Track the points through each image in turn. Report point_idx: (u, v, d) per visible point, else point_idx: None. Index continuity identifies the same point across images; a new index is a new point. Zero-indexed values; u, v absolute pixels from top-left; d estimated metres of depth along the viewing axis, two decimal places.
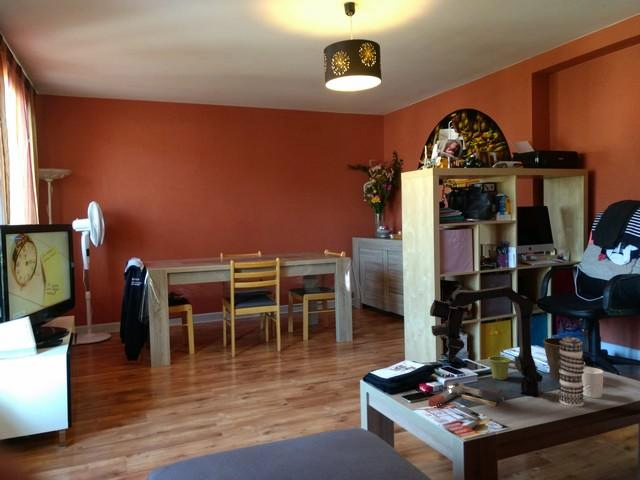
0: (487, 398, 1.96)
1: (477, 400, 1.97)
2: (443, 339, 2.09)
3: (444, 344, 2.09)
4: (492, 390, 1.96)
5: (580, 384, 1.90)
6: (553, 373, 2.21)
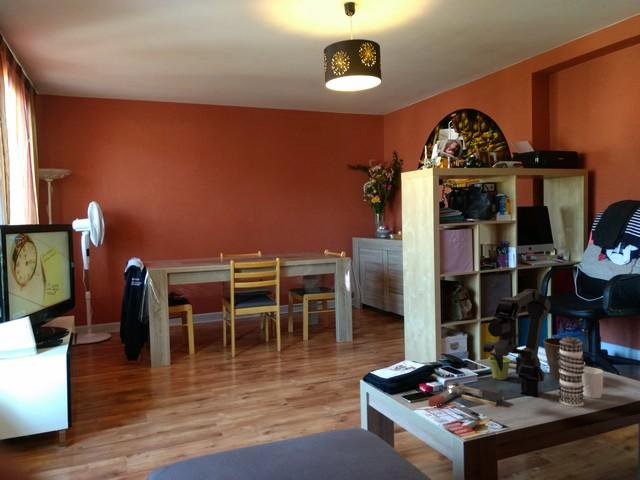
0: (487, 398, 1.96)
1: (477, 400, 1.97)
2: (498, 355, 1.93)
3: (499, 360, 1.93)
4: (492, 390, 1.96)
5: (580, 384, 1.90)
6: (553, 373, 2.21)
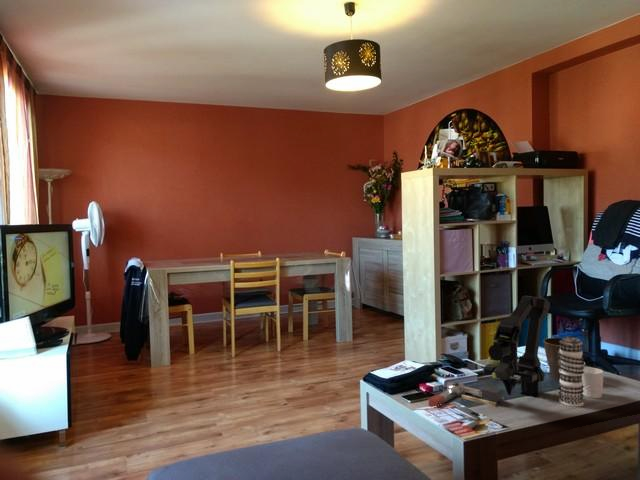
0: (487, 398, 1.96)
1: (477, 400, 1.97)
2: (506, 379, 1.91)
3: (507, 384, 1.92)
4: (492, 390, 1.96)
5: (580, 384, 1.90)
6: (553, 373, 2.21)
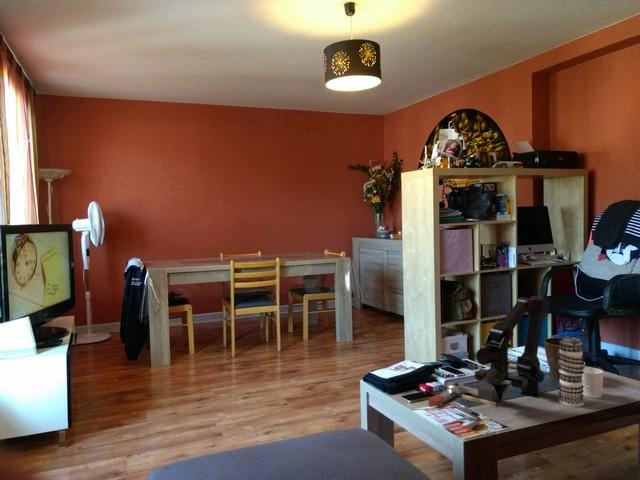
0: (483, 397, 1.97)
1: (477, 400, 1.97)
2: (497, 384, 1.93)
3: (498, 389, 1.94)
4: (488, 389, 1.97)
5: (580, 384, 1.90)
6: (553, 373, 2.21)
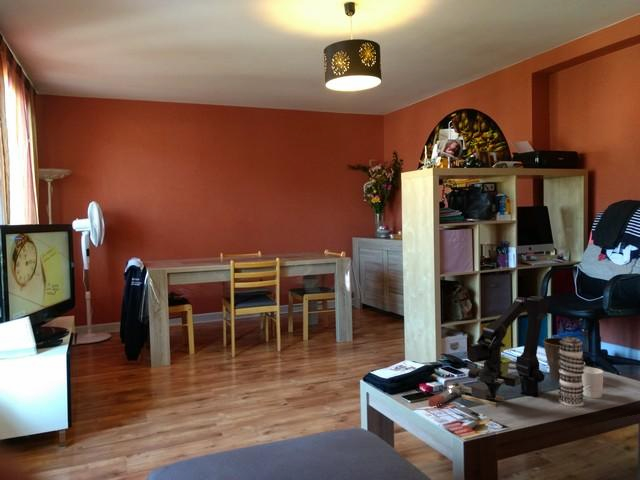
0: (476, 395, 1.99)
1: (477, 400, 1.97)
2: (490, 383, 1.95)
3: (491, 387, 1.96)
4: (481, 387, 1.99)
5: (580, 384, 1.90)
6: (553, 373, 2.21)
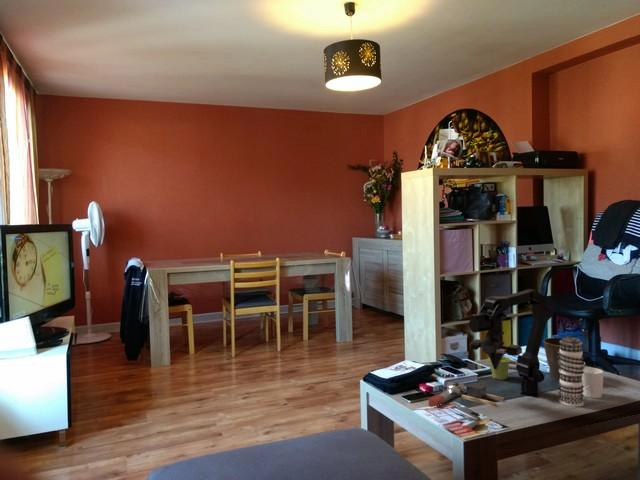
0: (471, 394, 2.00)
1: (477, 400, 1.97)
2: (492, 353, 1.96)
3: (493, 358, 1.96)
4: (476, 386, 2.00)
5: (580, 384, 1.90)
6: (553, 373, 2.21)
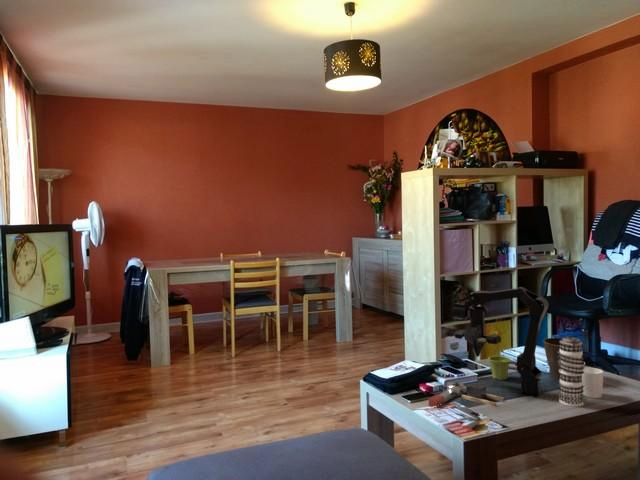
0: (471, 394, 2.00)
1: (477, 400, 1.97)
2: (474, 342, 2.16)
3: (475, 346, 2.17)
4: (476, 386, 2.00)
5: (580, 384, 1.90)
6: (553, 373, 2.21)
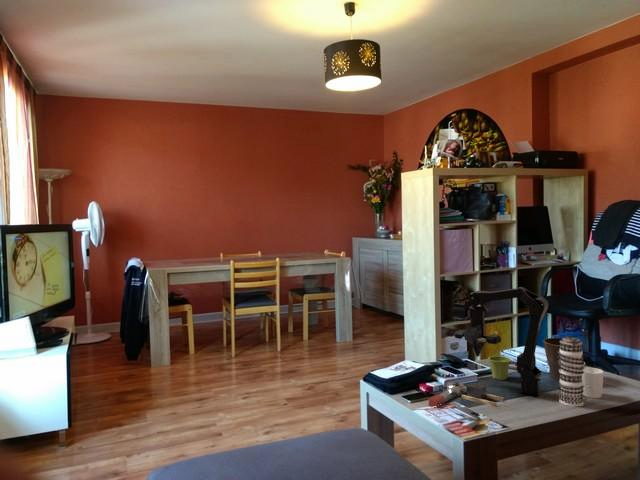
0: (471, 394, 2.00)
1: (477, 400, 1.97)
2: (474, 342, 2.16)
3: (475, 346, 2.17)
4: (476, 386, 2.00)
5: (580, 384, 1.90)
6: (553, 373, 2.21)
